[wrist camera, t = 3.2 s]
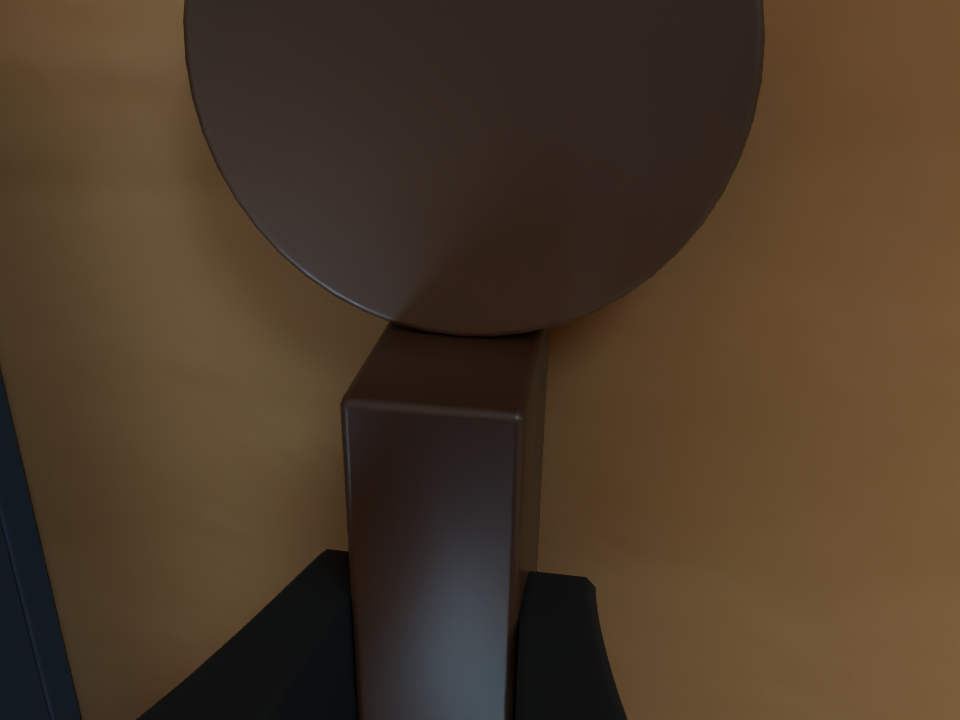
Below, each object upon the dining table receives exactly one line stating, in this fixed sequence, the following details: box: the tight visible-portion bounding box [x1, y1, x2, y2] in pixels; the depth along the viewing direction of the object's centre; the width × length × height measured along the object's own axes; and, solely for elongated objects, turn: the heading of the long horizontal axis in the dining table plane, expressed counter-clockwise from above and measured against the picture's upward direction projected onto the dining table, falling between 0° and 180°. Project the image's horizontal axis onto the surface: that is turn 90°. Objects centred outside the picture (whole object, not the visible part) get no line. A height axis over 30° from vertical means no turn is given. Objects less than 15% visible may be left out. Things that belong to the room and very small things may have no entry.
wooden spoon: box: [183, 0, 765, 720], centre depth 10 cm, size 17×5×3 cm, turn 179°
